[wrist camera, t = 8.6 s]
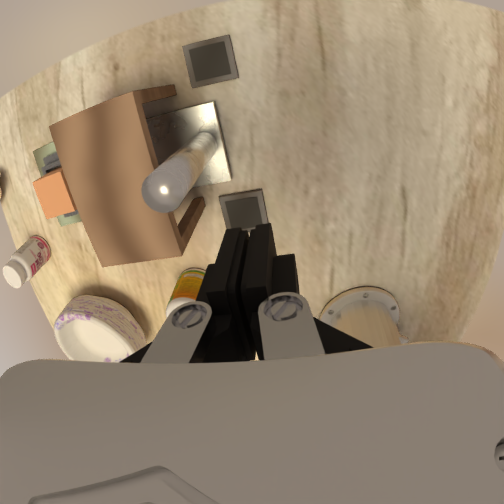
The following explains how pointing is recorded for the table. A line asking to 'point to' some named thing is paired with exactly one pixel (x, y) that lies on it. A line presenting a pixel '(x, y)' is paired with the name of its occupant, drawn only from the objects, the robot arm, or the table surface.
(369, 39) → the table surface
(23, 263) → the pill bottle
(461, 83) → the table surface
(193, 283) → the supplement bottle
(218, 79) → the wooden table
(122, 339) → the paper bowls
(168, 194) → the metal rod stand
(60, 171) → the block
